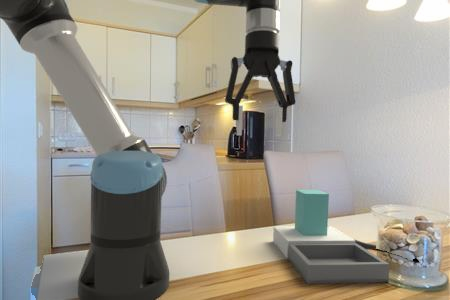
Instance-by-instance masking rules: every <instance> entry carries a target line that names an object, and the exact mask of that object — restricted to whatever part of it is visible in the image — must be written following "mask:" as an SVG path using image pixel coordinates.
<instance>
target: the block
mask: <svg viewBox="0 0 450 300" xmlns="http://www.w3.org/2000/svg"><path fill="white" fill-rule="evenodd" d="M329 196H330V193H327V192H325V191H322V190H319V189H296V190H295V211H294V212H295V213H294V214H295V215H294V226H295V229H296V230H297V231H298V232H300V233H301V234H302V235H327V226H328V224H329V223H328V221H329V199H330V197H329Z"/></svg>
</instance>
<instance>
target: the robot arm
mask: <svg viewBox="0 0 450 300" xmlns="http://www.w3.org/2000/svg"><path fill="white" fill-rule="evenodd" d="M194 2H196V3H199V4H200V3H201V4H205V5H208V6H212V5H215V6H217V5H218V6H229V7H230V6H231V7H239V8H246V10H245V11H246V12H245V13H246V14H245V15H246V18H245V33H246V35H245V39H244V41H245V42H244V55H243V57H236V56H233V57H232V58H231V61H230V69H231V72H230V76H229V80H228V83H227V84H228V85H227V89H226V93H225V98H224V102H225V104H229V105H231V106H232V121H236V136H242V135H243V113H244V111H243V109H244V108H243V107H244V106H243V105H240V104H241V101H242V99H243V97H244V95H245V93H246V92H247V89H248V87H249V84H251V81H252V79H253V78H258V77H262V78H267V81H268V82H269V84H270V86H271V89H272V91H273V94H274V96H275V99H276V101H277V103H278V106H279V107H276V108H275V125H274V126H275V129H274V132H275V133H274V137H278V138H279V137H280V138H281V137H283V135H282V134H283V123H286V122H287V111H288V107H291V106H294V105H296V96H295V91H294V90H295V89H294V83H293V75H292V67H293V60H284V59H281V58H280V55H279V53H280V52H279V51H280V35H279V33H280V31H281V30H280V29H281V28H280V27H281V26H280V25H281V24H280V23H281V17H280V16H281V0H194ZM0 19H1V20H2V21H3V22H4V23H5V24H6V26H7V27H8V29H9V30H10V32H11V34H12V36H13V37H14V38H15V40H16V41H17V43H18V45H19V46H20V48H21V50H23V52H24V51H25V52H26V53H30V54H32V55H35V57H36V58H37V60H38V62H39V63H40V65H41V67H42V68H43V70H44V72H45V73H46V75H47V76H48V78H49V80H50V81H51V82H52V85H53V87H55V89H56V91H57V92H58V94H59V95H60V98H61V99H62V101H63V102H64V103H65V106H66V107H67V109H68V110H69V112H70V115H72V117H73V119H74V120H75V122H76V123H77V126H79V128H80V130H81V132H82V133H83V135H84V136H85V138H86V139H87V141H88V143H89V144H90V146H91V148H92V150H93V151H94V153H95V155H96V156H95V157H94V159H93V161H92V166H91V171H90V174H89V175H90V183H91V184H90V186H91V187H90V188H91V191H90V193H91V194H90V195H91V197H90V244H89V248H88V251H87V253H86V257H85V260H84V263H83V265H82V268H81V271H80V274H79V277H78V281H77V282H78V283H77V294H78V297H79V299H81V300H156V299H157V298H159V297H161V296H162V295H163V294H164V293H165V292H166V291H167V290H168V289H169V286H170V268H169V264H168V261H167V258H166V256H165V255H166V254H165V252H164V248H163V246H162V242H161V228H162V227H161V226H162V225H161V223H162V221H161V220H162V198H163V195H164V193H165V191H166V188H167V184H168V178H167V172H166V169H165V167H164V166H163V164H162V163H163V161H162V158H161V157H160V155H158V154H156V153H154V152H153V151H152V150H151V148H150V146H149V144H147V141H146V139H144V138H143V137H139V136H136V135H135V134H133V132H132V130H131V129H130V127H129V126H128V124H127V123H128V122H126V121H125V118H124V117H123V115H122V114H121V112H120V110H119V109H118V106H117V105H116V104H115V102H114V100H113V98H112V97H111V95H110V93H109V91H108V90H107V88H106V86H105V85H104V84H103V81H102V80H101V79H100V77H99V75H98V73H97V71H96V70H95V67H93V65H92V63H91V61H90V60H89V58H88V57H87V54H86V53H85V52H84V50H83V48H82V47H81V44H80V43H79V41H78V39H77V37H76V35H77V32H78V26H77V24H76V22H75V20H74V19H73V17H72V16H71V14H70V10H69V8H68V5H67V1H66V0H0ZM242 64H243V66H244V67H245V68H246V70H247V73H246V75H245V77H244V79H243V81H242V83H241V85H240V88H239V89H238V91H237V93H236V95H235V97H233V96H234V89H235V86H236V81H237V78H238V72H239V69H240V68H241V67H242ZM278 67H280V71H282V80H283V85H284V91H285V92H284V91H283V88H282V86H281V83H280V81H279V78H278V74H277V72H276V69H277V68H278Z"/></svg>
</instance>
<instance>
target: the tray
mask: <svg viewBox="0 0 450 300" xmlns="http://www.w3.org/2000/svg"><path fill="white" fill-rule="evenodd" d="M287 260H288V262H289V263H290V264H291V265H292V266H293V267H294V269H295V271H297V272H298V274H299V275H300V276H301V277H302V278H303V280H304V281H305V282H306V283H307V284H308V285H310V284H314V285H315V284H352V283H353V284H355V283H356V284H357V283H358V284H359V283H360V284H361V283H362V284H363V283H389V279H390V277H389V276H390V263H389V262H387V261H385V260H383V258H380V257H379V256H378V255H376V254H374V253H373V252H371V251H369V249H365V248H363V247H361V246H360V245H358V244H357V243H345V244H288V259H287Z"/></svg>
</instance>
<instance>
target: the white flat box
mask: <svg viewBox="0 0 450 300" xmlns="http://www.w3.org/2000/svg"><path fill="white" fill-rule="evenodd" d="M355 240H356V239H355V238H352V237H351V236H348V235H347V234H345V233H344V232H342V231H340V230H338V229H337V228H336V227H334V226H331V225H329V226H327V235H302V234H301V233H300V232H298V231H297V230H296V229H295V225H293V226H291V225H290V226H287V225H286V226H285V225H284V226H282V225H279V226H278V225H277V226H275V225H274V226H273V239H272V242H273V243H274V245H275V246H277V248H278V249H279V250H280V252H281V253H282V254H283V256H285V258H286V259H287V260H288V244H345V243H355Z"/></svg>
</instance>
